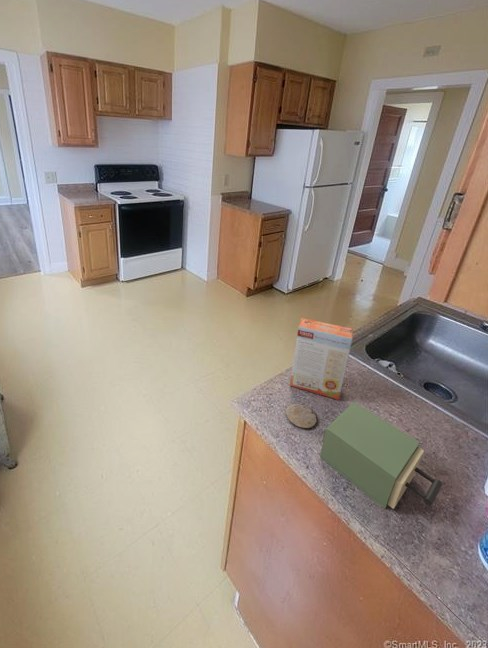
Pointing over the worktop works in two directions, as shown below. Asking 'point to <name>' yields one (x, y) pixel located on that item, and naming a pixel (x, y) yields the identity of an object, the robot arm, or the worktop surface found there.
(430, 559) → the worktop surface
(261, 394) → the worktop surface
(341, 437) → the cabinet
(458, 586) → the worktop surface
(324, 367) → the cracker box
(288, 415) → the flatbread
